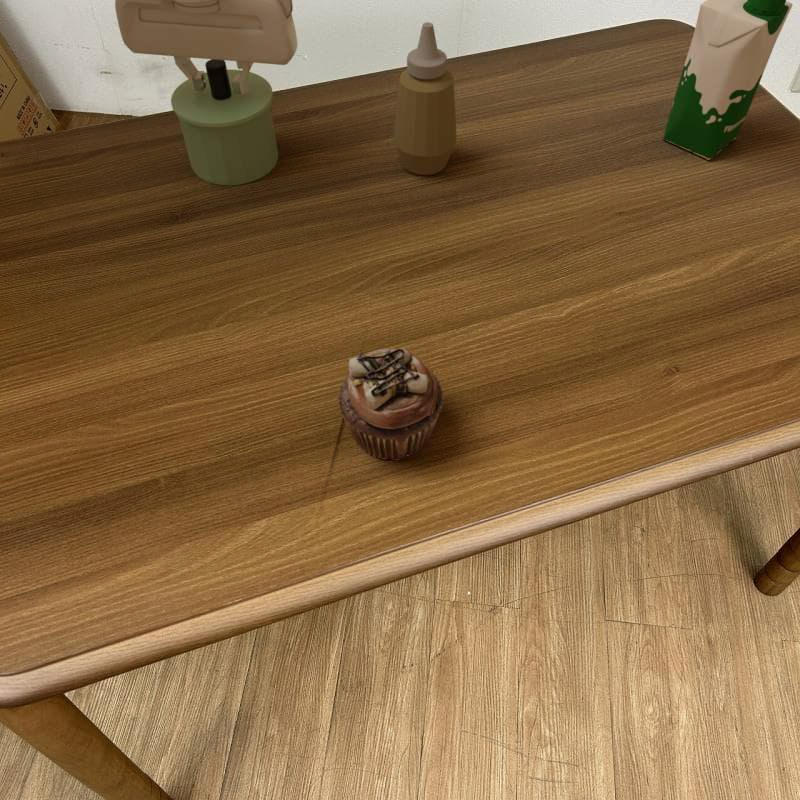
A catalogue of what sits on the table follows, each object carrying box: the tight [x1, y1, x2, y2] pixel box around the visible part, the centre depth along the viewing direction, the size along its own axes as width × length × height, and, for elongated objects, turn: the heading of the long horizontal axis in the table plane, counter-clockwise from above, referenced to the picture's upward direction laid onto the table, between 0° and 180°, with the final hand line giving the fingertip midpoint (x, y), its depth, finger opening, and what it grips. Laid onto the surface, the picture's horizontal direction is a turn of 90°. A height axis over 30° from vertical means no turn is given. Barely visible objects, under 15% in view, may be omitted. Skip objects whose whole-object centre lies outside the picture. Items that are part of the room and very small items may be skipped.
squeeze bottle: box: [393, 21, 458, 176], centre depth 91 cm, size 8×8×18 cm
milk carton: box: [662, 0, 793, 158], centre depth 93 cm, size 9×9×20 cm
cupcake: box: [337, 348, 445, 461], centre depth 68 cm, size 10×10×10 cm
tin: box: [177, 105, 279, 186], centre depth 95 cm, size 11×11×8 cm
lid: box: [170, 59, 274, 127], centre depth 90 cm, size 12×12×5 cm
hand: (220, 90), depth 91 cm, fingers open, 4 cm apart
